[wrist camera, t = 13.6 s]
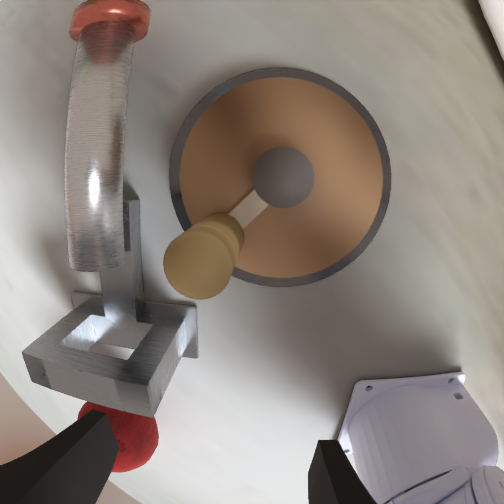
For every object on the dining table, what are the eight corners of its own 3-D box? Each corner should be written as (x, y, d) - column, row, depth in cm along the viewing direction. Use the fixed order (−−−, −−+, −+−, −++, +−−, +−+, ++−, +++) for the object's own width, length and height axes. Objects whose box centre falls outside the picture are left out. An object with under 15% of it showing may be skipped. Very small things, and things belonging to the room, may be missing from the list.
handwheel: (283, 49, 14) (288, -10, 8) (409, 186, 15) (473, 196, 9) (145, 182, 16) (83, 191, 10) (271, 309, 17) (270, 376, 11)
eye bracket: (196, 200, 17) (148, 220, 10) (198, 356, 19) (169, 431, 12) (64, 199, 17) (-13, 218, 10) (81, 336, 20) (28, 389, 13)
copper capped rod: (161, 22, 13) (132, -13, 9) (148, 254, 16) (113, 279, 12) (97, 35, 13) (59, 10, 9) (86, 249, 16) (43, 271, 12)
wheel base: (391, 84, 14) (393, 83, 14) (375, 289, 17) (377, 291, 17) (177, 70, 15) (175, 68, 14) (171, 277, 18) (169, 279, 18)
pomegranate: (89, 374, 20) (38, 439, 13) (147, 365, 20) (99, 446, 12) (125, 426, 22) (90, 494, 14) (182, 422, 21) (154, 503, 13)
